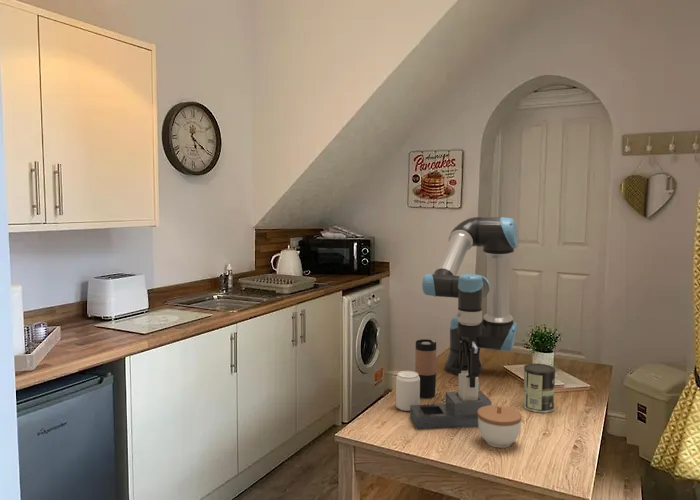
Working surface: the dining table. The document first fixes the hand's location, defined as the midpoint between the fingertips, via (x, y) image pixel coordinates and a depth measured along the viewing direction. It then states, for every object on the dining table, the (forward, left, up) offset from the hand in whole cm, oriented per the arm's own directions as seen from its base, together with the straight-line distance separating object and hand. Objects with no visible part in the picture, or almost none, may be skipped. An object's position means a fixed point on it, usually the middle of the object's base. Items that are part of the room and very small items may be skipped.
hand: (468, 392), depth 180 cm
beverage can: (-13, -17, -9) cm, 23 cm away
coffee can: (-8, +28, -10) cm, 31 cm away
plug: (0, 0, -5) cm, 5 cm away
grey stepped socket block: (0, -6, -9) cm, 11 cm away
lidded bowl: (+17, +4, -10) cm, 20 cm away
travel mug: (-24, -8, -9) cm, 27 cm away
